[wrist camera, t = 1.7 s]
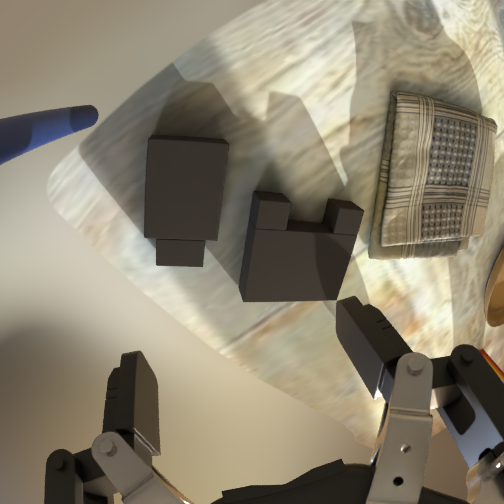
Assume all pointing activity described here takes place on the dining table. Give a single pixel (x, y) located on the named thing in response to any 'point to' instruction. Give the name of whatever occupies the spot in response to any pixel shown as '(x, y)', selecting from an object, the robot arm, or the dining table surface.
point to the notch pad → (296, 251)
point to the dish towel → (431, 179)
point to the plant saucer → (495, 294)
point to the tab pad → (183, 196)
